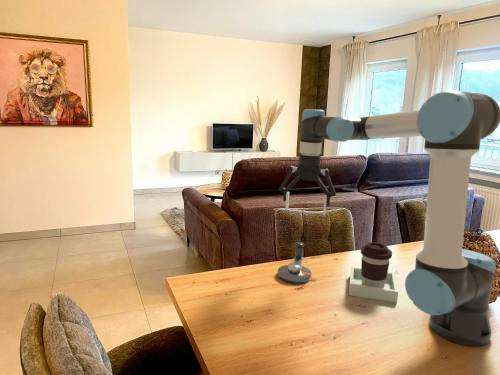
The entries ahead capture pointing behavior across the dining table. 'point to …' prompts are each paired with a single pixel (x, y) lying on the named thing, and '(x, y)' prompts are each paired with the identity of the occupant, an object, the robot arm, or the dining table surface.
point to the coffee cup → (375, 264)
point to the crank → (297, 259)
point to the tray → (371, 292)
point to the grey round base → (295, 275)
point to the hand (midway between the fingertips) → (305, 212)
